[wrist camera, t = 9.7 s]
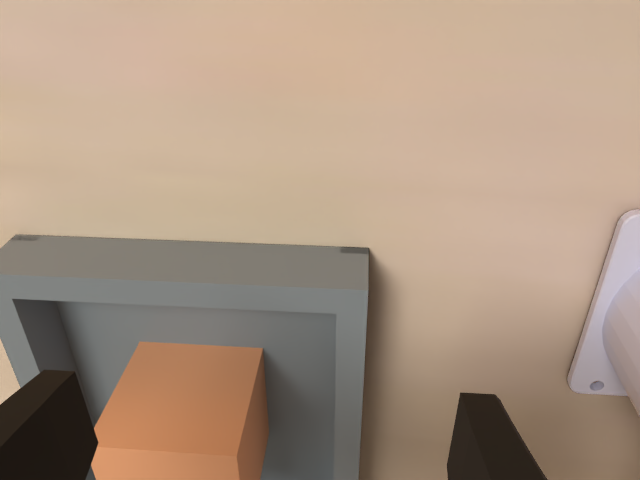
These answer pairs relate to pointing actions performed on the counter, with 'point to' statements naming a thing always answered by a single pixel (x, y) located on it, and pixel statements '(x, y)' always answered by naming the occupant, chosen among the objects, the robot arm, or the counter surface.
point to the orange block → (185, 415)
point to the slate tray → (202, 327)
